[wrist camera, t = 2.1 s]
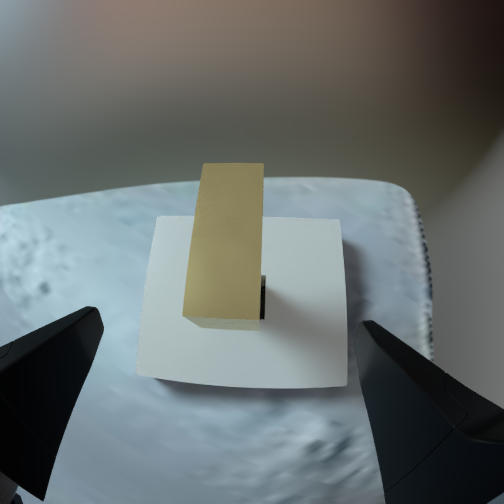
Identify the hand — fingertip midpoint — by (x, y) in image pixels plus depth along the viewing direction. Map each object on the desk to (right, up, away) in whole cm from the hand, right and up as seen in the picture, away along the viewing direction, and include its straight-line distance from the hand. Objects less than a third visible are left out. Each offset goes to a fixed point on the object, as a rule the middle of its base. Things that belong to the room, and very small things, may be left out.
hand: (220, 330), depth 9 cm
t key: (0, -1, +12) cm, 12 cm away
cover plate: (0, -1, +12) cm, 12 cm away
